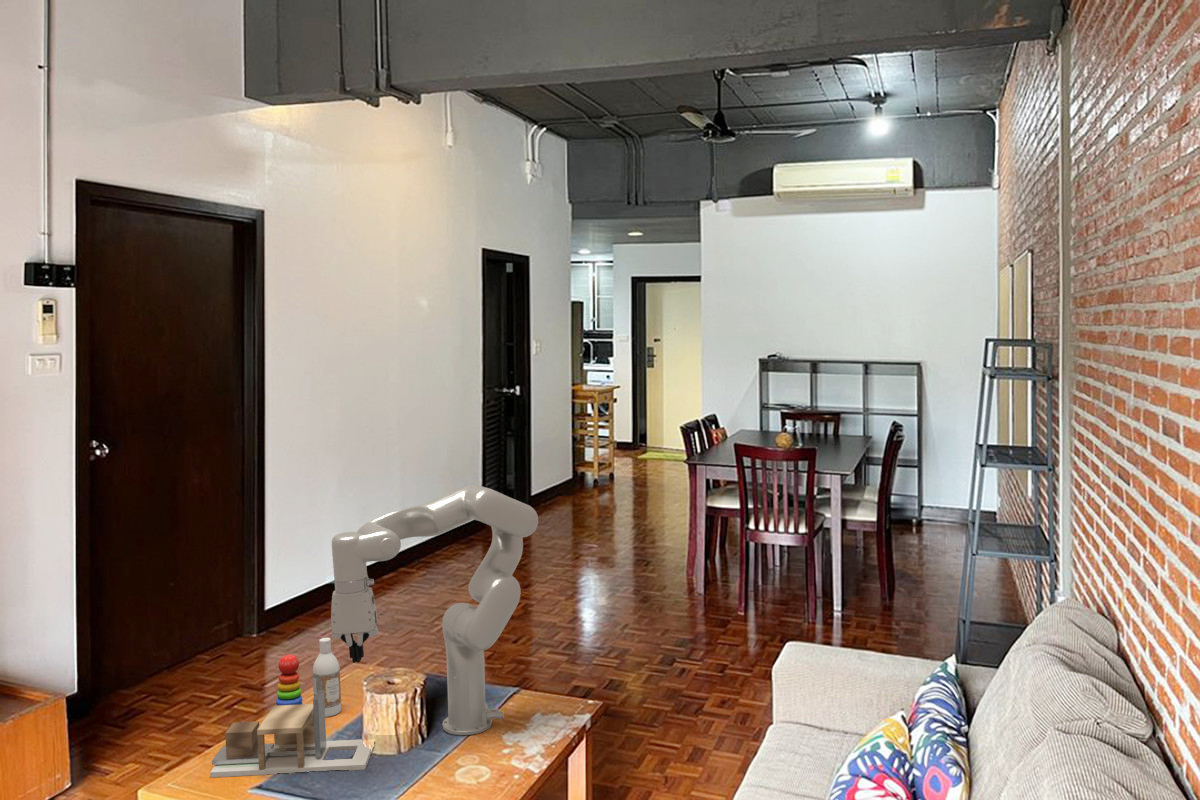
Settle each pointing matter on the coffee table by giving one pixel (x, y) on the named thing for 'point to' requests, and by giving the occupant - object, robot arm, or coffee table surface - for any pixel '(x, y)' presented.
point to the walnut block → (242, 739)
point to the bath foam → (327, 678)
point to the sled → (269, 751)
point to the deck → (311, 762)
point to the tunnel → (287, 729)
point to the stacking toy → (289, 682)
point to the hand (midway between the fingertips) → (357, 660)
